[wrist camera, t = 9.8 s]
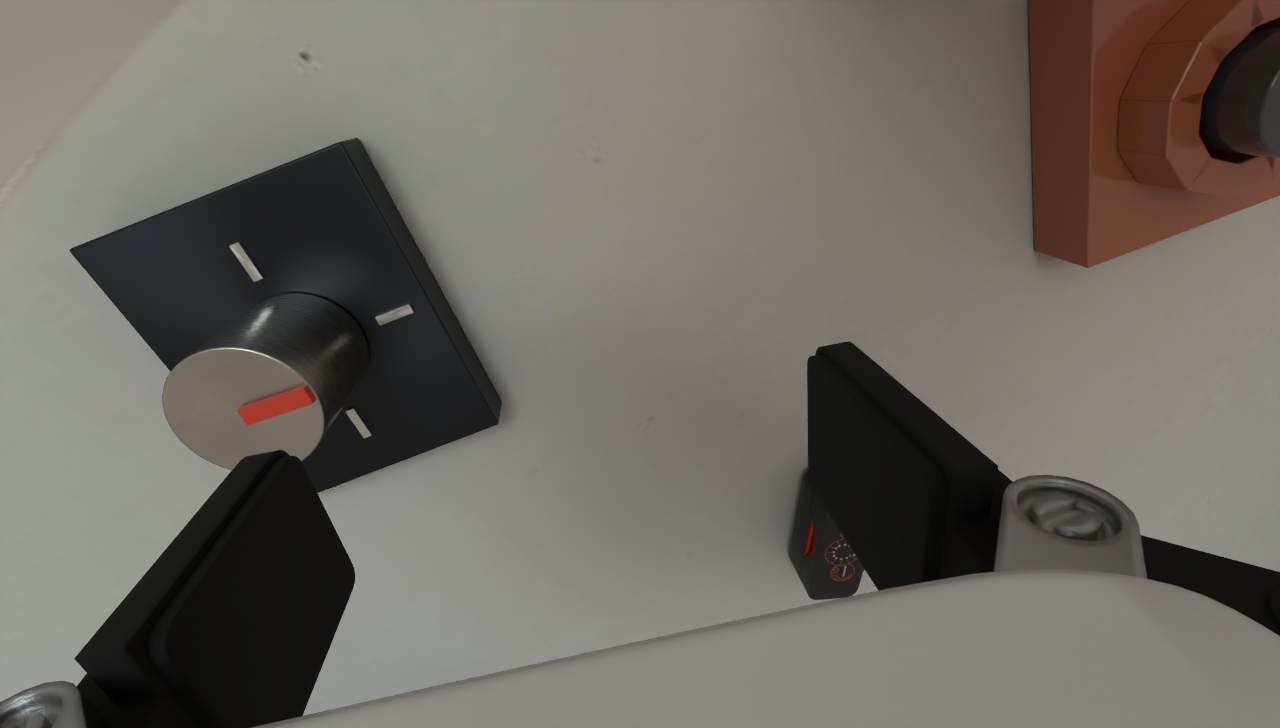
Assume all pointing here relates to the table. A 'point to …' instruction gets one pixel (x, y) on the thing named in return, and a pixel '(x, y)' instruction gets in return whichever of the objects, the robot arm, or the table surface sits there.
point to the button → (1245, 99)
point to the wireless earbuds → (822, 551)
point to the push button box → (1134, 122)
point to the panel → (315, 265)
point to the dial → (267, 381)
